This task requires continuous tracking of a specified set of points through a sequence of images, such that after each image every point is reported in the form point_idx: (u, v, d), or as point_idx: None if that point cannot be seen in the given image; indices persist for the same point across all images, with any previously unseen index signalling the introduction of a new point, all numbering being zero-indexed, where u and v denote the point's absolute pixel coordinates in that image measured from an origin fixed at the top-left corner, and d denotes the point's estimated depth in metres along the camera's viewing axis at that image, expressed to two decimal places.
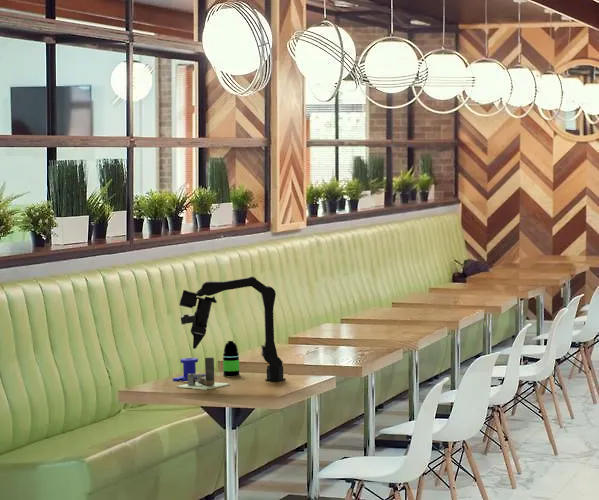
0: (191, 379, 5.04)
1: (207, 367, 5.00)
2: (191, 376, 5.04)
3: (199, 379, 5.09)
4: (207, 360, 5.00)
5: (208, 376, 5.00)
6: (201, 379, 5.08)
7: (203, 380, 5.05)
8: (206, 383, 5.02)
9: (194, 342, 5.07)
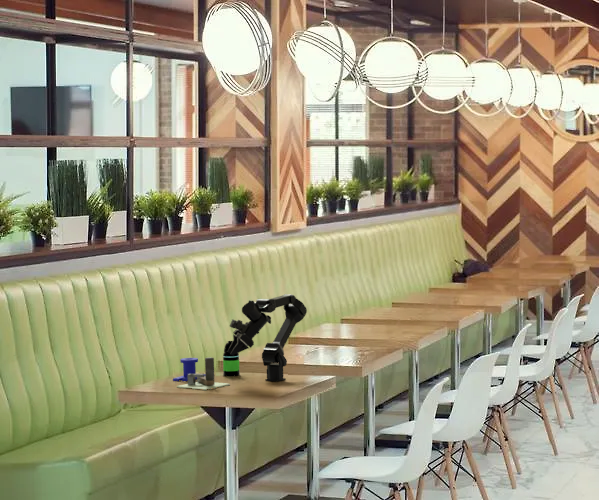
0: (191, 379, 5.04)
1: (207, 367, 5.00)
2: (191, 376, 5.04)
3: (199, 379, 5.09)
4: (207, 360, 5.00)
5: (208, 376, 5.00)
6: (201, 379, 5.08)
7: (203, 380, 5.05)
8: (206, 383, 5.02)
9: (235, 349, 4.99)
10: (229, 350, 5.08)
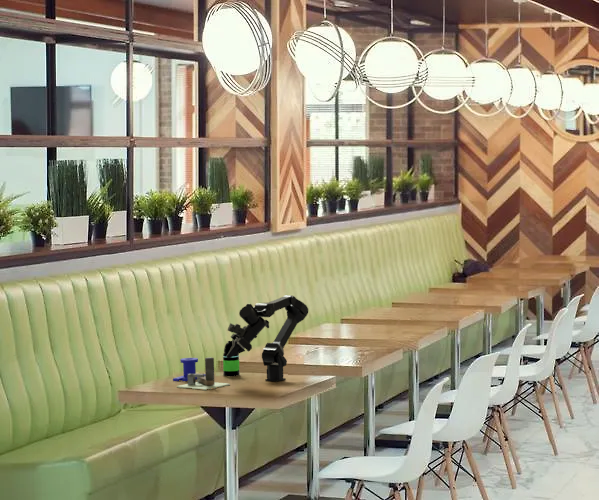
0: (191, 379, 5.04)
1: (207, 367, 5.00)
2: (191, 376, 5.04)
3: (199, 379, 5.09)
4: (207, 360, 5.00)
5: (208, 376, 5.00)
6: (201, 379, 5.08)
7: (203, 380, 5.05)
8: (206, 383, 5.02)
9: (231, 352, 5.02)
10: None
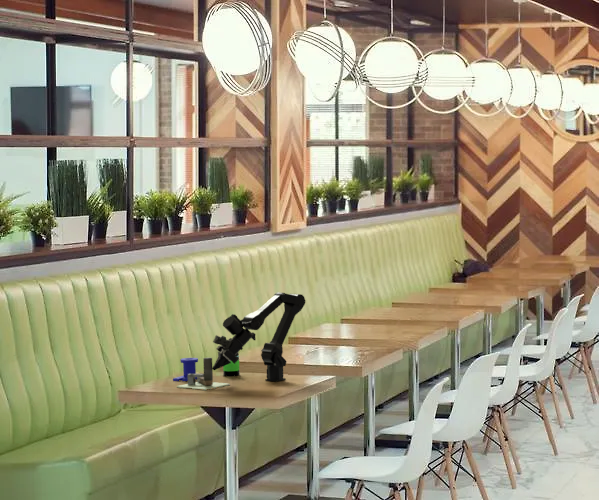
0: (191, 379, 5.04)
1: (205, 367, 5.00)
2: (191, 376, 5.04)
3: (199, 379, 5.09)
4: (205, 360, 5.00)
5: (206, 376, 5.00)
6: (200, 379, 5.08)
7: (202, 380, 5.05)
8: (204, 383, 5.02)
9: (217, 364, 5.01)
10: None
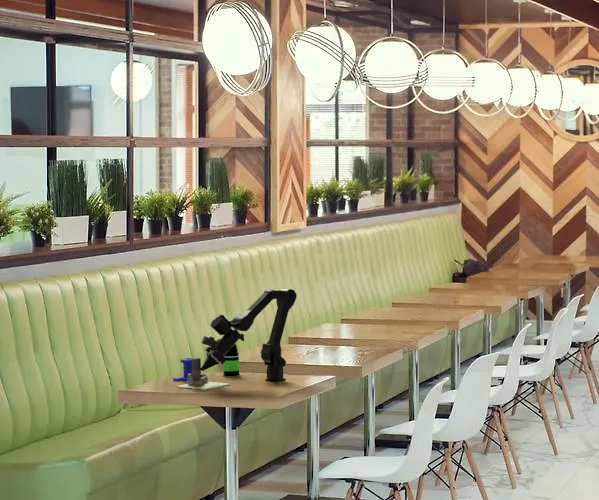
0: (191, 379, 5.04)
1: (192, 367, 5.00)
2: (191, 376, 5.04)
3: None
4: (192, 360, 5.00)
5: (193, 376, 5.00)
6: None
7: None
8: None
9: (205, 365, 5.00)
10: None
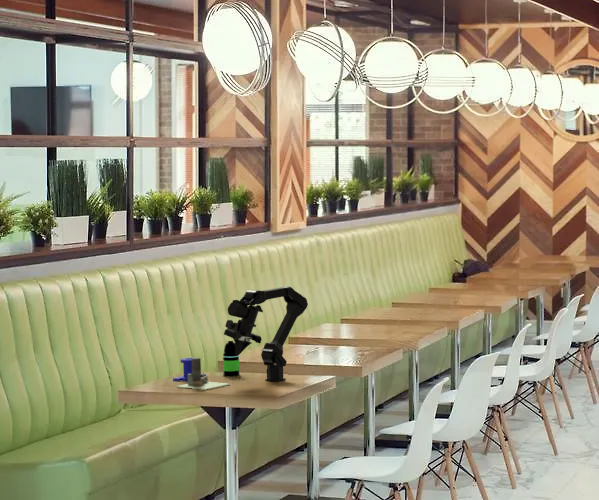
0: (191, 379, 5.04)
1: (192, 367, 5.00)
2: (191, 376, 5.04)
3: None
4: (192, 360, 5.00)
5: (193, 376, 5.00)
6: None
7: None
8: None
9: (236, 348, 5.06)
10: None
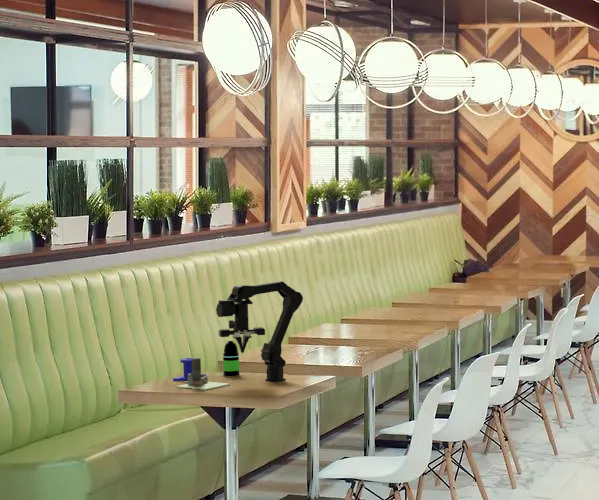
0: (191, 379, 5.04)
1: (192, 367, 5.00)
2: (191, 376, 5.04)
3: None
4: (192, 360, 5.00)
5: (193, 376, 5.00)
6: None
7: None
8: None
9: (239, 346, 5.08)
10: None
